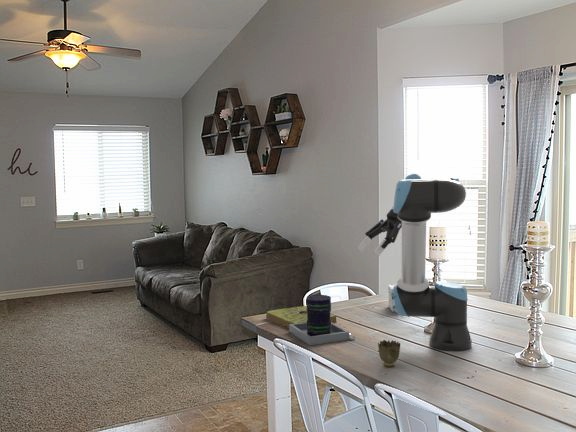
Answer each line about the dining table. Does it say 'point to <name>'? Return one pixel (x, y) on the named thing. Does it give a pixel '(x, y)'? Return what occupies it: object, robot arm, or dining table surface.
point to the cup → (389, 352)
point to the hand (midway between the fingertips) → (367, 251)
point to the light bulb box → (391, 298)
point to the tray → (335, 335)
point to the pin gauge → (351, 337)
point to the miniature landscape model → (291, 316)
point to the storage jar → (318, 315)
